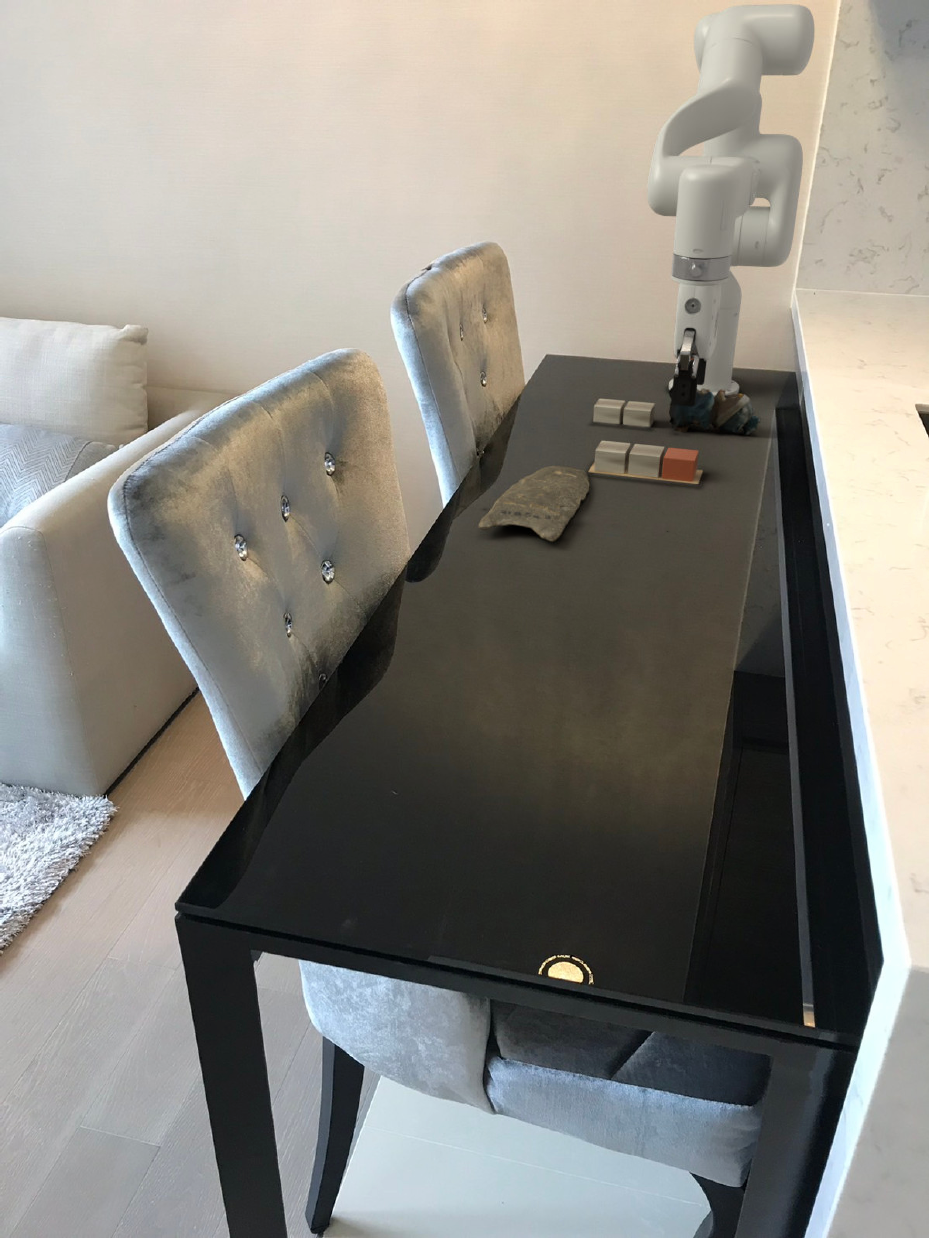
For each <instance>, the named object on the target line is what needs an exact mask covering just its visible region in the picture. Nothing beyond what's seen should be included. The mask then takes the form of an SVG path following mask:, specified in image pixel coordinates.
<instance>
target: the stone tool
mask: <svg viewBox="0 0 929 1238" xmlns="http://www.w3.org/2000/svg"><path fill="white" fill-rule="evenodd" d="M589 487H590V482H589V475H588V474H587V472H586V471H585V470H583V469H582V470H581V469H576V468H573V467H566V466H559V465H550V466H546V467H542V468H540V469H538V470H536V471H535V472H533V473H532V474H530V475H525V477H523V478H520V479H519V480H518V482H517V483H514V484H512V485H511V486H510V487H509V489H506V490H505V491H504V493H502V494H501V495H500V497H498V498H497V499H496V501H495V502H494V504H493V505H492V507H491V508H490V510H489V511H488V513H486V514H485V515H484V516H483V517H482V518H481V519H480V521H479V523H478V529H480V530H482V531H487V530H490V529H492V528H496V527H505V526H519V527H523V528H529V529H531V530H532V531H534V532H535V533H536V534H537V535H538V536H539V537H540V538H541V539H543V540H545V541H548V542H555V541H556V540H557V539H559V538H560V536H561V535H562V534H563V531H564V530H565V528H566V526H567V525H568V524H569V521H570V520H571V519H572V518H573V517H575V513H576V512H577V510H578V509H580V505H581V502H582V501H584V500H585V499H586V497H587V494H588V493H589V492H590V488H589Z"/></svg>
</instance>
